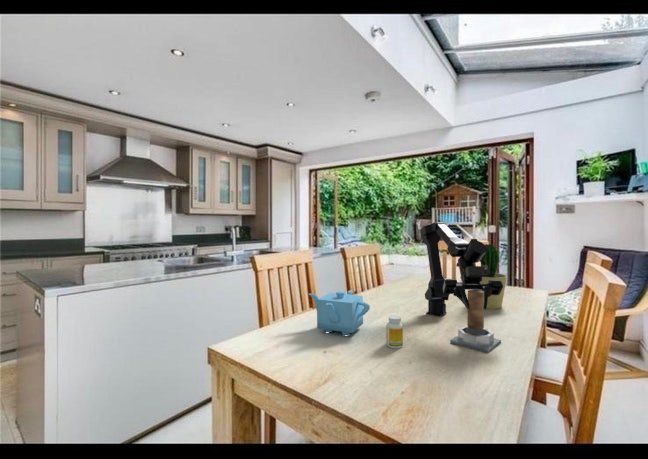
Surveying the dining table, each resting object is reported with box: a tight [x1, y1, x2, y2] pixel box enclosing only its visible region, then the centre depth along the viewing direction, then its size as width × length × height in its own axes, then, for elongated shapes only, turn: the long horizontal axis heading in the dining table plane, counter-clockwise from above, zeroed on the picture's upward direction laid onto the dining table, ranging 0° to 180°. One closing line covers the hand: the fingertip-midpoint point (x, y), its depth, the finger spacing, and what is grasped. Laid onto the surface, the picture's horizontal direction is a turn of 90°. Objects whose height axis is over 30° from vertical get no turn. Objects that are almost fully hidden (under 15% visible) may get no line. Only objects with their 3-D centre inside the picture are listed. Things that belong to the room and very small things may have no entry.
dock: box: [449, 325, 502, 354], centre depth 113 cm, size 12×12×4 cm
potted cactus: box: [478, 243, 508, 310], centre depth 160 cm, size 15×15×30 cm
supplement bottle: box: [385, 315, 404, 349], centre depth 111 cm, size 5×5×10 cm
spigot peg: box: [466, 290, 485, 330], centre depth 112 cm, size 5×5×12 cm
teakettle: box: [308, 289, 371, 335], centre depth 127 cm, size 19×19×15 cm
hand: (476, 308), depth 111 cm, fingers closed on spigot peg, 5 cm apart
